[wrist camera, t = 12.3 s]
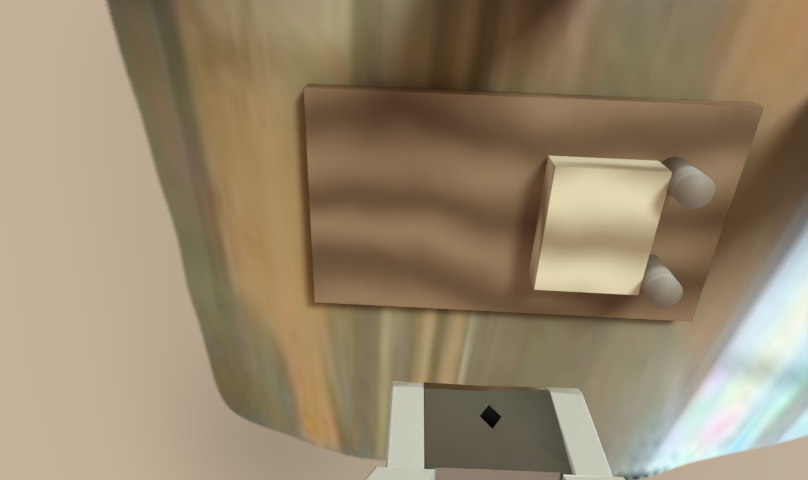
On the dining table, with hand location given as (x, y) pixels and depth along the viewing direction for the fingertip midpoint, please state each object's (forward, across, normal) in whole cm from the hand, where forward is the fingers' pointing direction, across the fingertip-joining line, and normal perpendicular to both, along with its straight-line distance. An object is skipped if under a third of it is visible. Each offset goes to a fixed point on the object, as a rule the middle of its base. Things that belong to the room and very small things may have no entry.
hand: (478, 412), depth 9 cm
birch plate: (+31, -12, +12) cm, 35 cm away
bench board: (+32, -7, +11) cm, 35 cm away
